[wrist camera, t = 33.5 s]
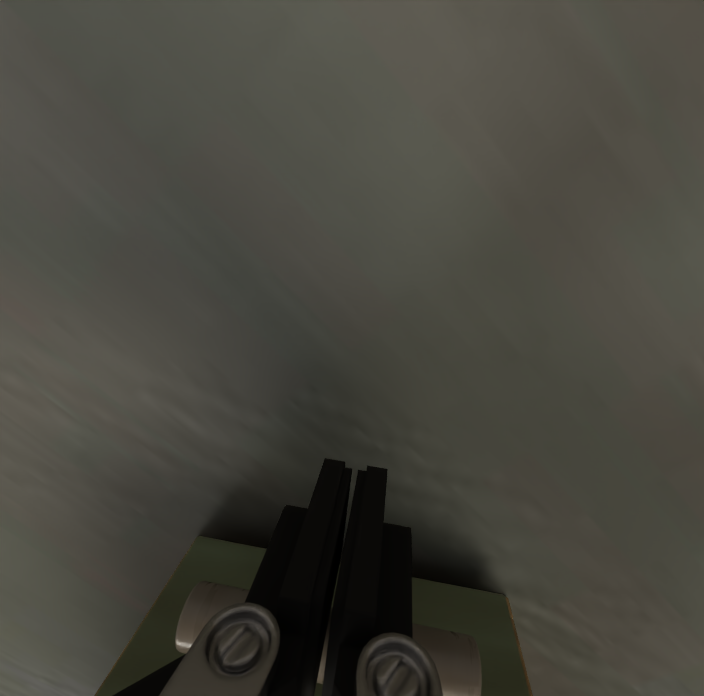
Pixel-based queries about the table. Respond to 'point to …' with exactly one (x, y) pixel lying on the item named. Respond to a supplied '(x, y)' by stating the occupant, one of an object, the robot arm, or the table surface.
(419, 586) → the drawer
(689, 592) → the table surface
